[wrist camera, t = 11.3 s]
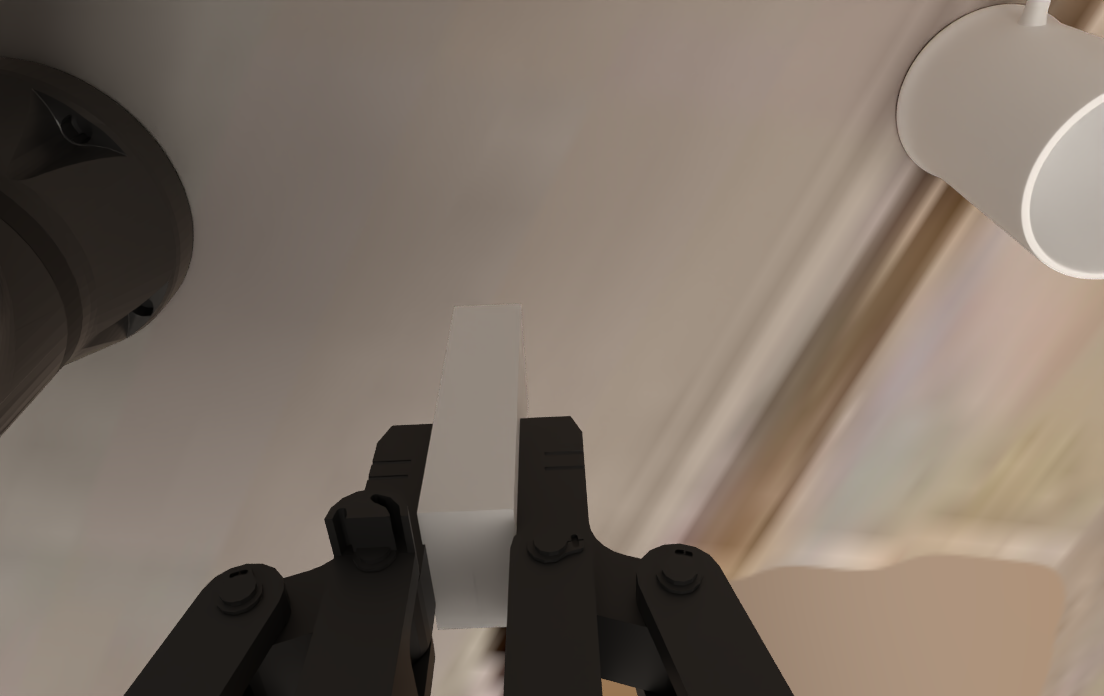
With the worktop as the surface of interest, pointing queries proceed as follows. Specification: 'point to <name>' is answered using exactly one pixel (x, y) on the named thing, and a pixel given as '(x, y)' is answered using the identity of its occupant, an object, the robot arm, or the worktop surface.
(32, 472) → the worktop surface
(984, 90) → the mug
